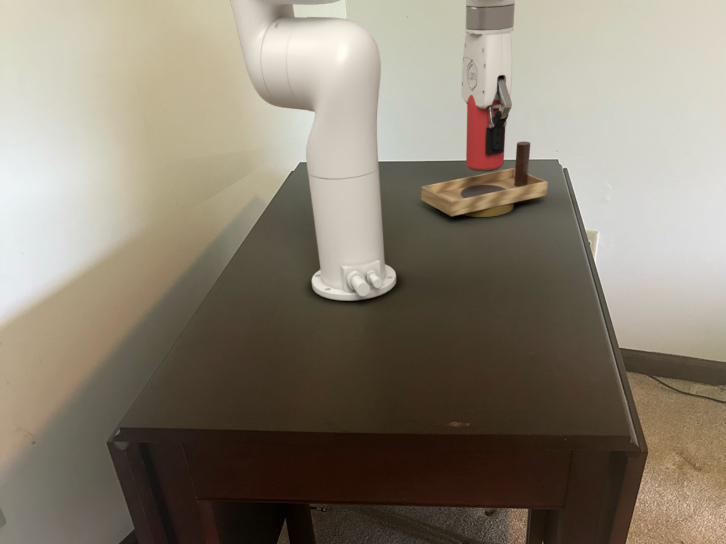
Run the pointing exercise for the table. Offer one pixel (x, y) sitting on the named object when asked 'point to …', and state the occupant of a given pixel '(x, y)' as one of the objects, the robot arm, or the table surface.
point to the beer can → (480, 139)
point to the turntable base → (491, 211)
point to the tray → (487, 188)
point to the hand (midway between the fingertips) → (485, 147)
